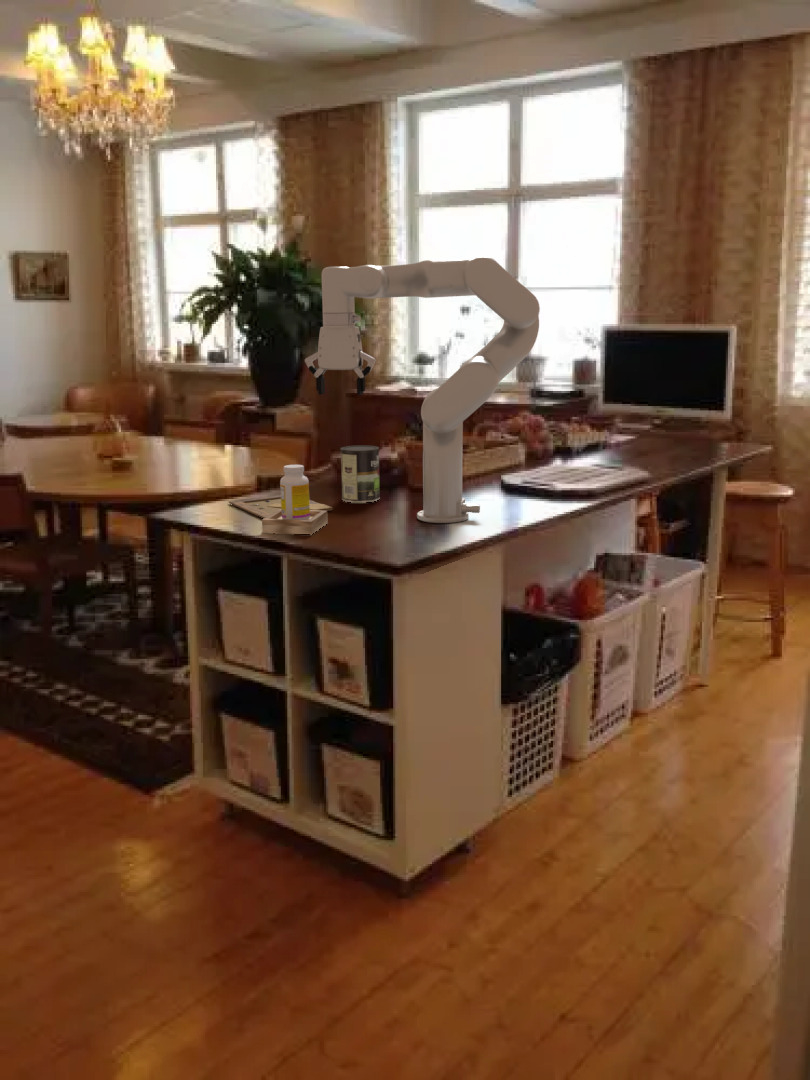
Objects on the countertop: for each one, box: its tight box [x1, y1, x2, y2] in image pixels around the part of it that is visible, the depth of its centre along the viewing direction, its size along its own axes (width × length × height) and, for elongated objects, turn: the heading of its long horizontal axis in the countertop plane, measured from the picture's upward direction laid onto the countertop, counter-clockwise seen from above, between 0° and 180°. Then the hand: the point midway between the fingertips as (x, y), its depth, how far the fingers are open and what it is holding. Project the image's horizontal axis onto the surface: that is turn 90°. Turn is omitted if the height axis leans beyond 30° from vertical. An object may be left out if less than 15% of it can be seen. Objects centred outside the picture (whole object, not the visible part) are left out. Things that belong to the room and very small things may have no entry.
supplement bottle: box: [279, 464, 310, 520], centre depth 228 cm, size 7×7×13 cm
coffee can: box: [339, 444, 381, 504], centre depth 260 cm, size 10×10×14 cm
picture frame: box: [228, 494, 333, 519], centre depth 253 cm, size 19×2×24 cm
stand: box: [261, 509, 329, 536], centre depth 230 cm, size 12×12×3 cm
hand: (340, 394), depth 233 cm, fingers open, 9 cm apart
